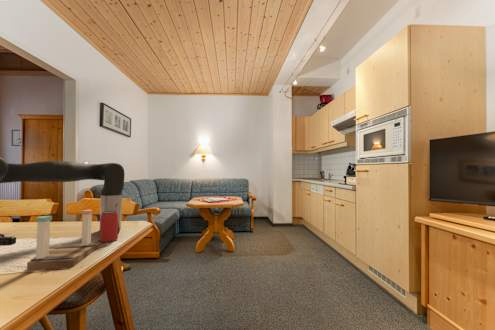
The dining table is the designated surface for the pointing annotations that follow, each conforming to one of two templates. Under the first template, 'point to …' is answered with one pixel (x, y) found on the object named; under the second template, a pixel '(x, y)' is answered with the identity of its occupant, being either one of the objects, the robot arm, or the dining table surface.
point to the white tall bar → (86, 226)
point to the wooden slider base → (63, 256)
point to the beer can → (108, 226)
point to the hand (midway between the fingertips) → (14, 240)
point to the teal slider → (43, 236)
